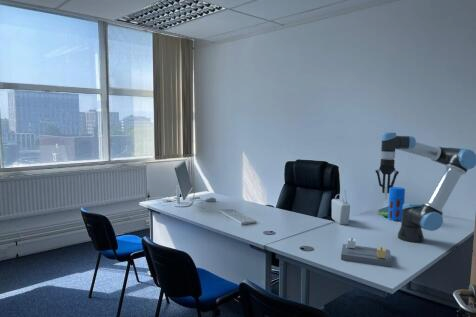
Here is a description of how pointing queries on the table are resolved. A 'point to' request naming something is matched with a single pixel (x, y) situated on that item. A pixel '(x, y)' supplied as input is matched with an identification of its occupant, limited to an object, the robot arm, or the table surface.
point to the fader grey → (351, 243)
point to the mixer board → (365, 255)
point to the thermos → (396, 203)
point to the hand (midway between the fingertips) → (385, 198)
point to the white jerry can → (340, 210)
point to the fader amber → (381, 252)
